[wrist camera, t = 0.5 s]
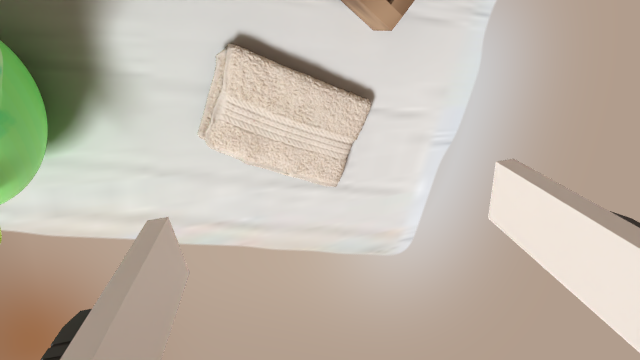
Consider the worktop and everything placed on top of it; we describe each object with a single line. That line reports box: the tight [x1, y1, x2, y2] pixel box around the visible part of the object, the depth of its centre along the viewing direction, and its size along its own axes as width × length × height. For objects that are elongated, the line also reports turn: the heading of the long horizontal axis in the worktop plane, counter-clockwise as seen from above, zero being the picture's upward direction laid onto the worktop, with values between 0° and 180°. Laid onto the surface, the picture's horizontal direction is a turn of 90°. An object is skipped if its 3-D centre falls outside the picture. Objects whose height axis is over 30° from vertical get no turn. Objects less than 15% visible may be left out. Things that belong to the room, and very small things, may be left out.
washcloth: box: [197, 44, 371, 187], centre depth 37 cm, size 12×18×3 cm, turn 69°
